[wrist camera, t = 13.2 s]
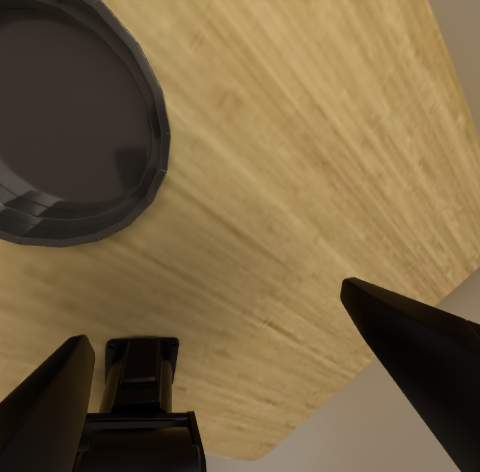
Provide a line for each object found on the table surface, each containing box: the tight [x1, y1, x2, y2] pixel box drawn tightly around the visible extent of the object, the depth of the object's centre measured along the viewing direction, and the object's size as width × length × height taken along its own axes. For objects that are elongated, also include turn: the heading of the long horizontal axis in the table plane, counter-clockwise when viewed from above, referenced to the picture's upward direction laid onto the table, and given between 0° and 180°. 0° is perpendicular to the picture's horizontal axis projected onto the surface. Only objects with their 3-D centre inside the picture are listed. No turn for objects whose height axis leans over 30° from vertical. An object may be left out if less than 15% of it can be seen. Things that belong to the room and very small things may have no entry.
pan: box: [0, 0, 171, 247], centre depth 14 cm, size 13×13×4 cm
